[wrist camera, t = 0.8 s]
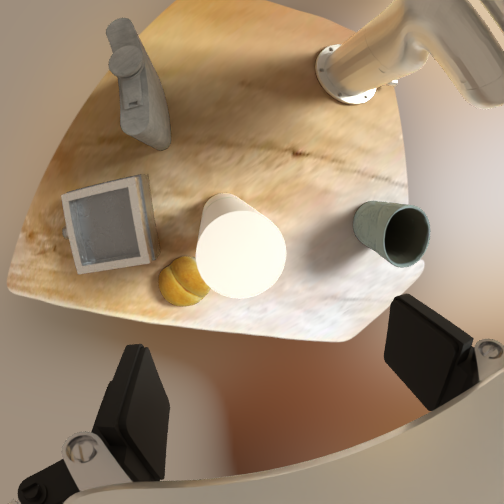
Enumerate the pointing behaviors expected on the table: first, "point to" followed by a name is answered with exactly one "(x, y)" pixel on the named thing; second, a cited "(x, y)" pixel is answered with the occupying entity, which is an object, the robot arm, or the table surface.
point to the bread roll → (182, 282)
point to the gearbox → (111, 225)
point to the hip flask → (138, 87)
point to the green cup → (393, 231)
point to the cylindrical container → (238, 248)
